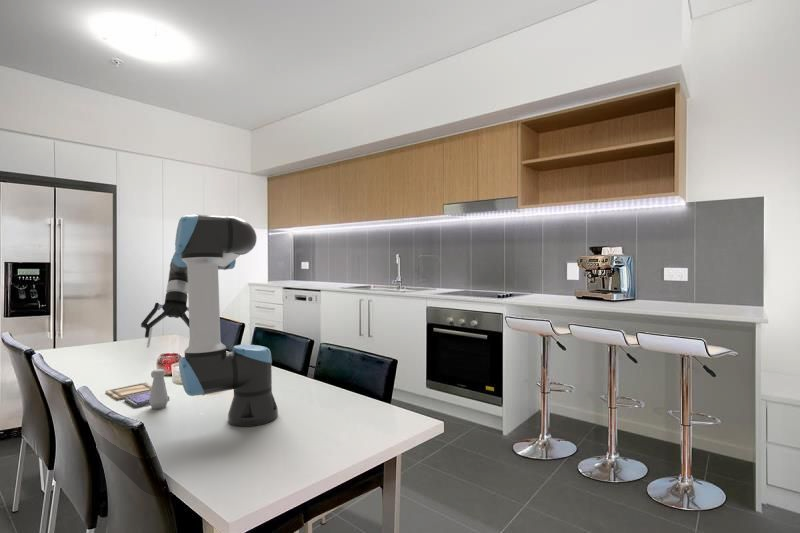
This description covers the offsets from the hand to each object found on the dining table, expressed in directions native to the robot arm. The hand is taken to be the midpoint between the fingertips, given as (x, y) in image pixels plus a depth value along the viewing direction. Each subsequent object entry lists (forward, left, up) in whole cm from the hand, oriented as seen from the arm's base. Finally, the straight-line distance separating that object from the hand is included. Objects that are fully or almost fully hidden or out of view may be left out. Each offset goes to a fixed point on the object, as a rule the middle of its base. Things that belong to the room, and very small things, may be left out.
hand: (169, 347), depth 161 cm
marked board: (+20, +6, -19) cm, 28 cm away
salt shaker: (-6, +6, -19) cm, 21 cm away
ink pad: (+5, +6, -19) cm, 20 cm away
